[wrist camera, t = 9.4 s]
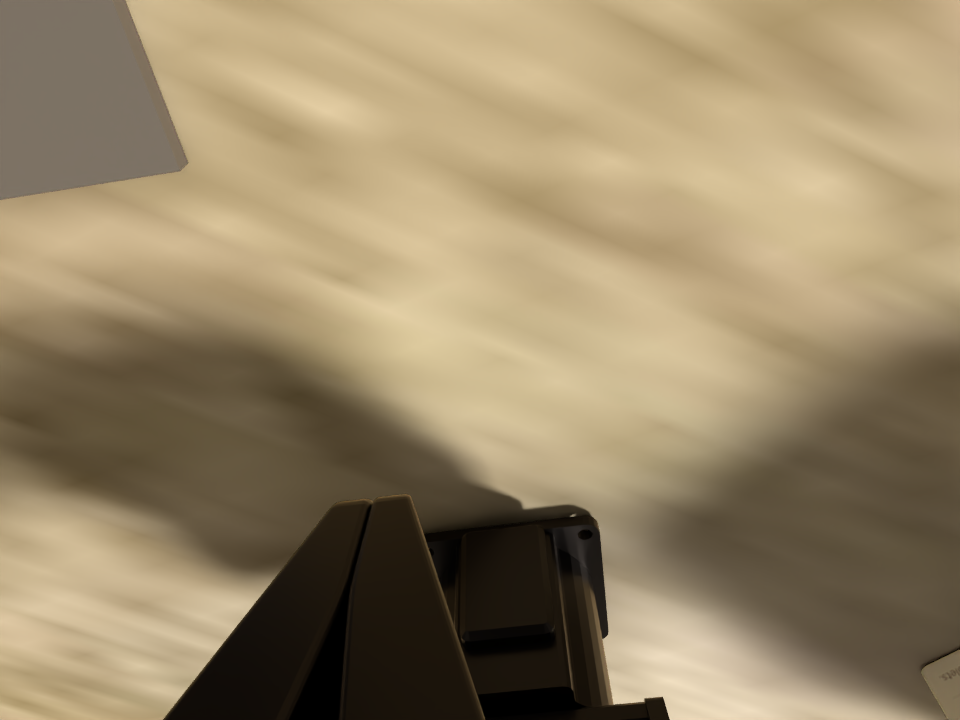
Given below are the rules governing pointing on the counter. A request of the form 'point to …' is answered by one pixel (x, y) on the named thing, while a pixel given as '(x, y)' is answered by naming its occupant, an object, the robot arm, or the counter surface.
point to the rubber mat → (78, 99)
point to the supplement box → (945, 683)
